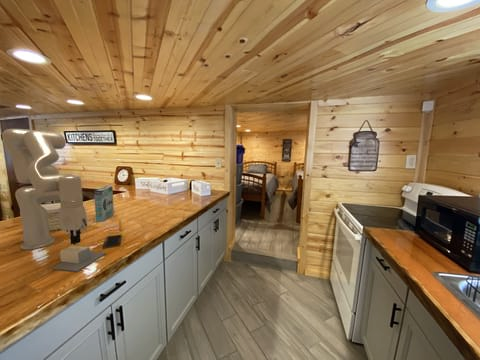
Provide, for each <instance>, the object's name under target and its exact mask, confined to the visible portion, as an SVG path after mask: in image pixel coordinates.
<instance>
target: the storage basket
mask: <svg viewBox="0 0 480 360" xmlns="http://www.w3.org/2000/svg"><path fill="white" fill-rule="evenodd" d="M40 205H41V206H42V207H44V208H45V209H46V210H47V213H48V221H49V230H50V232H51V231H57V230H58V229H59V230H61V229H60V228H59V222H58V215H59V208H60V207H61V205H60V202H57V203H49V204H40ZM19 213H20V212H19ZM19 216H20V217H21V213H20V214H19Z"/></svg>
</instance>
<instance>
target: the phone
mask: <svg viewBox="0 0 480 360" xmlns="http://www.w3.org/2000/svg"><path fill="white" fill-rule="evenodd" d="M122 237H123V235H122V234H117V235H116V234H115V235H109V236H106V237H105V239H104V242H103V244H102V249H103V250H105V249H112V248H116V247H120V246H121V243H122Z"/></svg>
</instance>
